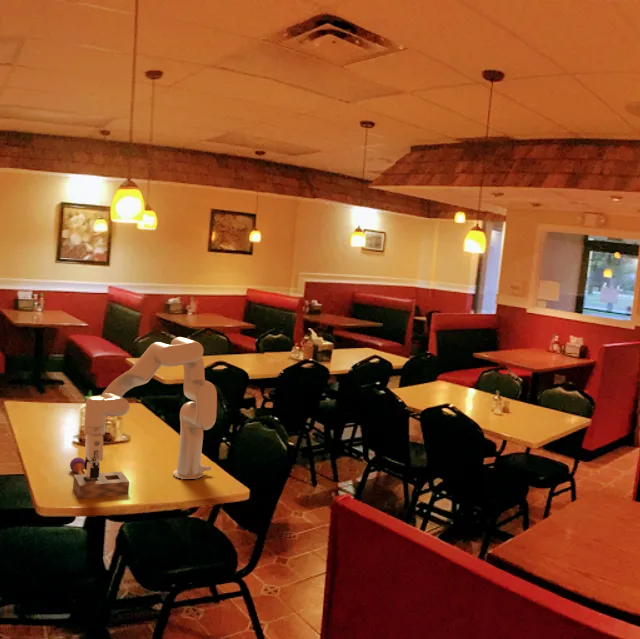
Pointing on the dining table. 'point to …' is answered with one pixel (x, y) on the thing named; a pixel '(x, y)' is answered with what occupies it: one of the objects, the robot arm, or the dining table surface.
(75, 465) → the kendama
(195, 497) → the dining table surface
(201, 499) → the dining table surface
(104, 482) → the walnut block
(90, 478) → the steel pin
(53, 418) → the dining table surface
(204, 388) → the robot arm
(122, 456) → the dining table surface
